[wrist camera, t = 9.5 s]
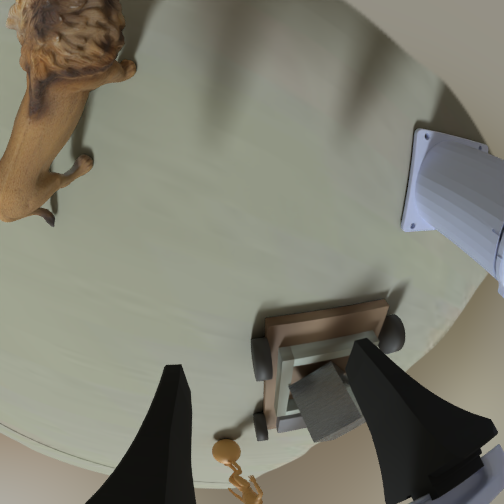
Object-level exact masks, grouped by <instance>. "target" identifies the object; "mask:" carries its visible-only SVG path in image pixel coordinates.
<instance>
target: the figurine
mask: <svg viewBox="0 0 504 504" xmlns="http://www.w3.org/2000/svg"><path fill="white" fill-rule="evenodd" d="M212 453H213V456H214V458H215V459H216V460H217V461H218V462H220V463H223V464H224V465H225V466H229V467H230V468H231V469H232V470H233V471H234V473H233V474H232V475H231V476H230V478H229V482H230V483H232V484H233V485H234V486H236V487H237V488H238V489H239V490H240V491H242V493H243V496H242V497H240V496H239V495H237V494H235V493H234V492H233V491H232V490H231V489H229V488H228V489H229V491H230V492H231V493H232V494H233V495H235V497H237V498H239V499H240V500H241V501H242V502H244V503H245V504H262V503H263V501H262V499H261V497H262V495H263V492H262V490H261V489H260V487H259V486H258V484H257V483H256V480H255V478H254V476H253V475H252V476H253V477H252V476H251V475H250V476H251V478H250V477H249V476H248V477H249V478H250V479H251V480H249V481H251V482H253V483H254V486H255V487H256V489H257V491H258V493H259V494H258V495H257V494H256V493H255V492H254V491H253V490H252V488H251V487H250V483H249V482H247V480H245V479H243V478H242V477H240V476H239V475H240V474H241V473H242V470H241V467H240V466H239V465H238V464H237V463H236V462H235V461H237V460H238V458H239V457H240V454H241V450H240V447H239V445H238V444H237V443H236V442H235V441H233V440H230V439H222V440H219V441H218V442H216V443H215V444H214V446H213V449H212ZM232 464H233V465H234V466H235V467H236V468H237V469H238V470H236V469H235V467H234V466H233V465H232Z"/></svg>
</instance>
